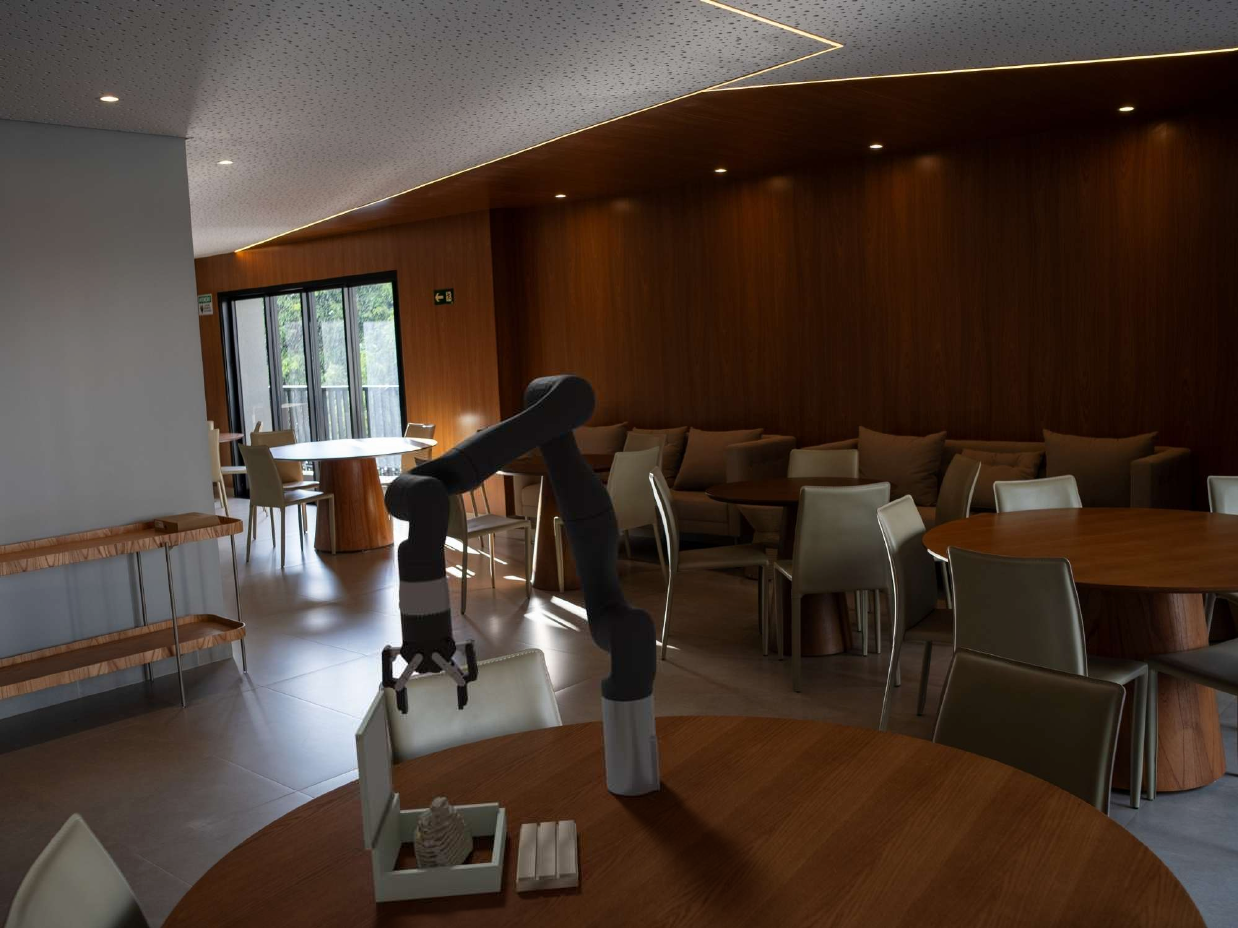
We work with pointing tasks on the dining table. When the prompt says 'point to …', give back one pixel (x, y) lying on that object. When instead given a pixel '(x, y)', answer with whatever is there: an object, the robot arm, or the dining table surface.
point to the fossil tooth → (441, 836)
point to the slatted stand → (547, 856)
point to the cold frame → (415, 826)
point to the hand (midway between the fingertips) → (433, 710)
